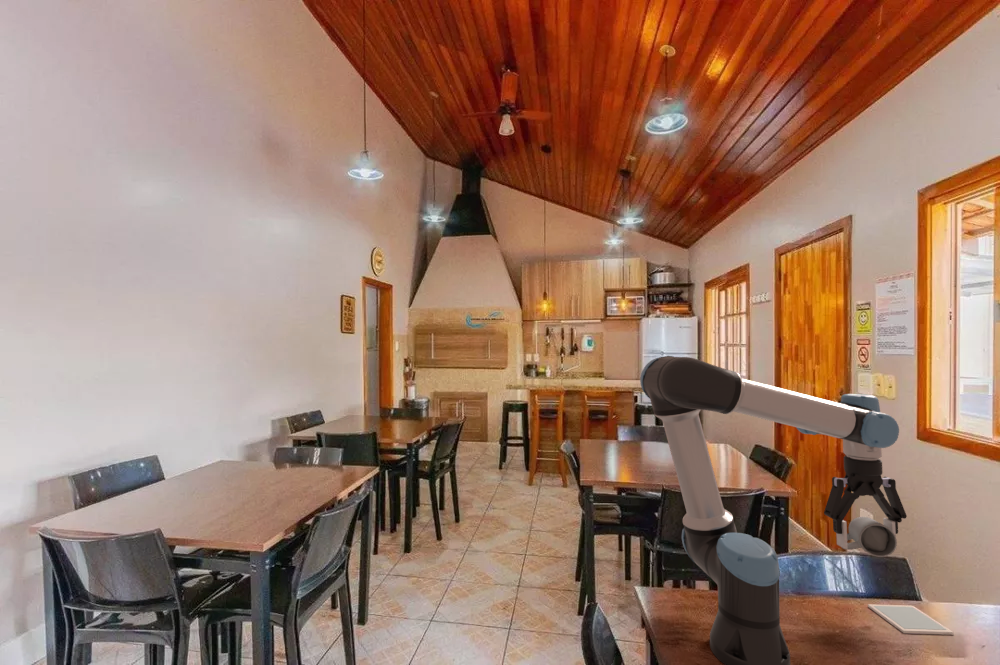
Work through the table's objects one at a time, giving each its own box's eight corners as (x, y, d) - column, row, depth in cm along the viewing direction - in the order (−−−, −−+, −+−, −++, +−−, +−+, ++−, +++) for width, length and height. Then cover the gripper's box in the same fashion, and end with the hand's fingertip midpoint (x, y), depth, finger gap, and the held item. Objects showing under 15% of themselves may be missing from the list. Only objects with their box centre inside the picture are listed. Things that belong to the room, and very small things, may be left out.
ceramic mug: (880, 544, 117) (878, 513, 117) (898, 558, 109) (896, 525, 109) (832, 541, 120) (830, 511, 120) (846, 555, 112) (844, 523, 112)
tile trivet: (903, 633, 106) (903, 630, 106) (867, 606, 117) (867, 604, 117) (953, 634, 106) (953, 631, 106) (912, 607, 117) (912, 605, 117)
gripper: (824, 460, 111) (828, 553, 111) (924, 460, 111) (928, 553, 110) (805, 453, 119) (808, 540, 118) (898, 453, 118) (902, 540, 117)
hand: (866, 546), depth 114 cm, fingers closed on ceramic mug, 11 cm apart
